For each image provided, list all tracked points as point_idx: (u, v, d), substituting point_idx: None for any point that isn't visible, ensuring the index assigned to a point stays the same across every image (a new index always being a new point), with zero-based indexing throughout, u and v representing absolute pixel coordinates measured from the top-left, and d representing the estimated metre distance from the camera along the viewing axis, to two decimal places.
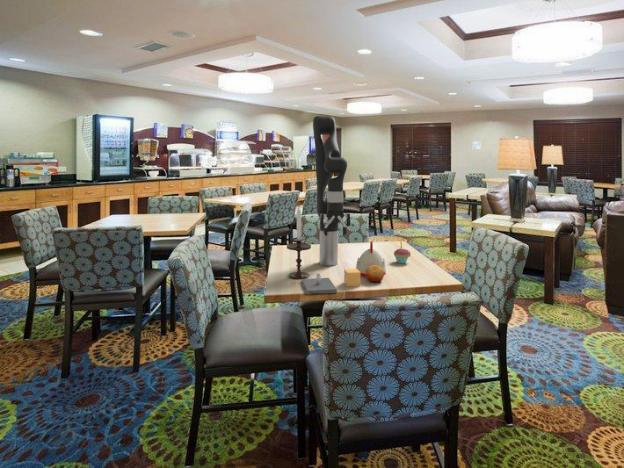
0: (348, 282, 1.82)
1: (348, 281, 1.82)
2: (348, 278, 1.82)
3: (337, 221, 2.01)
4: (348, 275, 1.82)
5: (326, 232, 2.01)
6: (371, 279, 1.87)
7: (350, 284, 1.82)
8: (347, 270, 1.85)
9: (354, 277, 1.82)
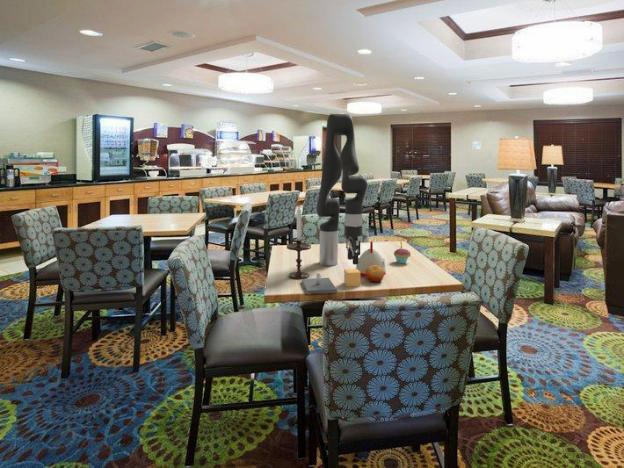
0: (348, 282, 1.82)
1: (348, 281, 1.82)
2: (348, 278, 1.82)
3: None
4: (348, 275, 1.82)
5: None
6: (371, 279, 1.87)
7: (350, 284, 1.82)
8: (347, 270, 1.85)
9: (354, 277, 1.82)
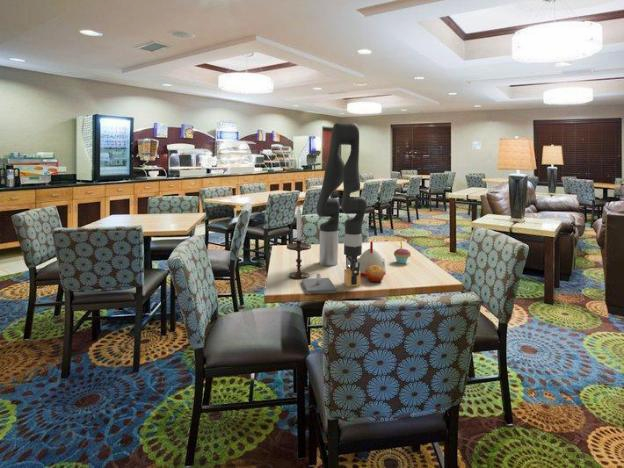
0: (348, 282, 1.82)
1: (348, 281, 1.82)
2: (348, 278, 1.82)
3: None
4: (348, 275, 1.82)
5: (356, 280, 1.82)
6: (371, 279, 1.87)
7: (350, 284, 1.82)
8: (347, 270, 1.85)
9: None
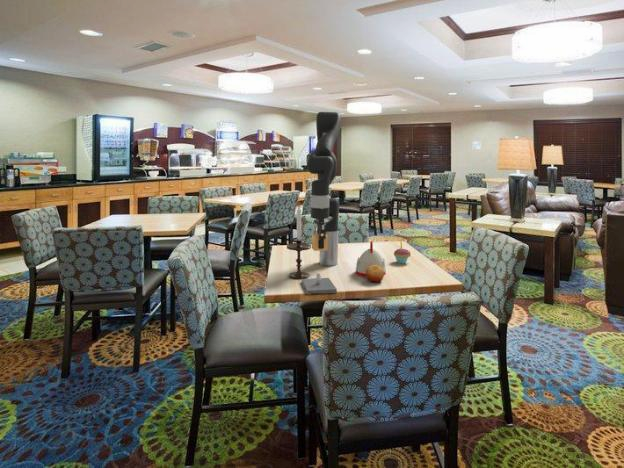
0: (315, 246, 1.75)
1: (315, 245, 1.74)
2: (315, 242, 1.74)
3: None
4: (315, 239, 1.74)
5: (323, 244, 1.75)
6: (371, 279, 1.87)
7: (317, 248, 1.75)
8: (314, 234, 1.77)
9: None
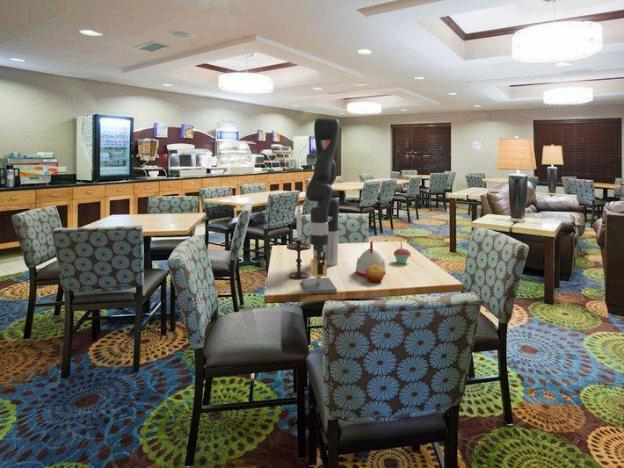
0: (314, 272, 1.77)
1: (314, 271, 1.77)
2: (314, 268, 1.76)
3: None
4: (314, 265, 1.76)
5: (322, 270, 1.77)
6: (371, 279, 1.87)
7: (316, 274, 1.77)
8: (314, 260, 1.79)
9: None
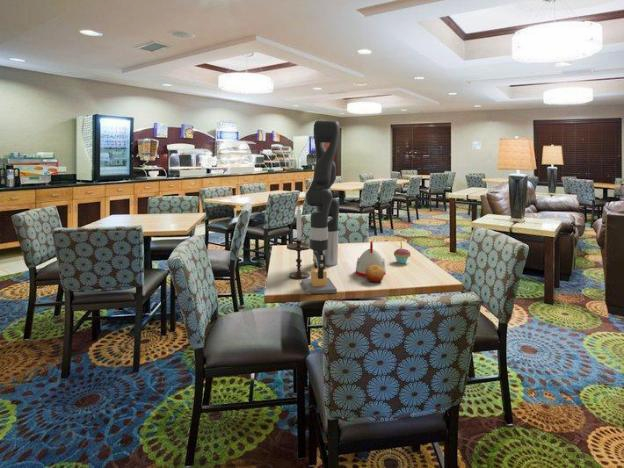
0: (314, 282, 1.77)
1: (314, 281, 1.77)
2: (314, 277, 1.77)
3: None
4: (314, 274, 1.77)
5: None
6: (371, 279, 1.87)
7: (316, 284, 1.78)
8: (313, 269, 1.80)
9: None
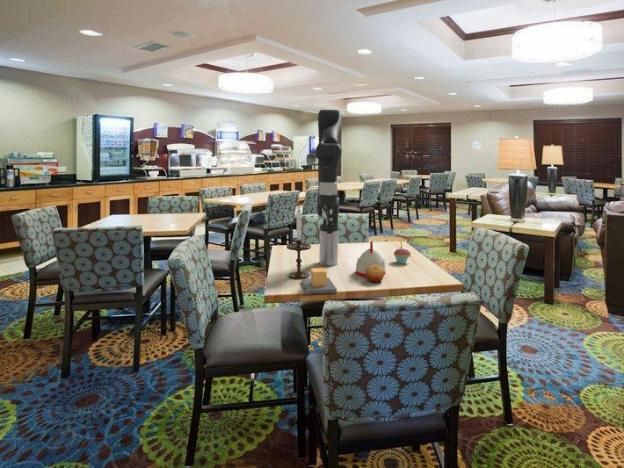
0: (314, 282, 1.77)
1: (314, 281, 1.77)
2: (314, 277, 1.77)
3: None
4: (314, 274, 1.77)
5: (332, 229, 1.77)
6: (371, 279, 1.87)
7: (316, 284, 1.78)
8: (313, 269, 1.80)
9: (320, 276, 1.77)
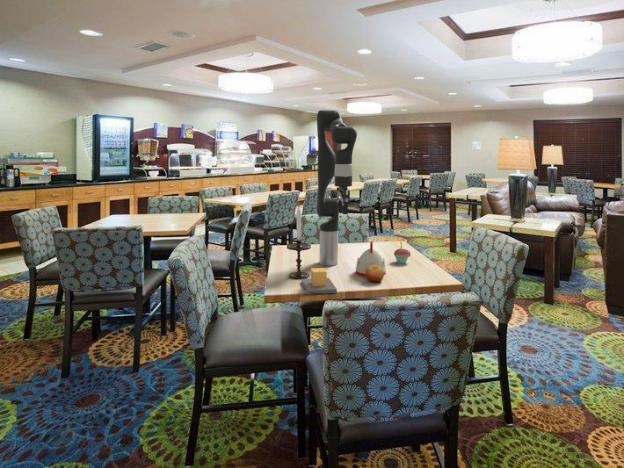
0: (314, 282, 1.77)
1: (314, 281, 1.77)
2: (314, 277, 1.77)
3: None
4: (314, 274, 1.77)
5: (347, 210, 1.82)
6: (371, 279, 1.87)
7: (316, 284, 1.78)
8: (313, 269, 1.80)
9: (320, 276, 1.77)
